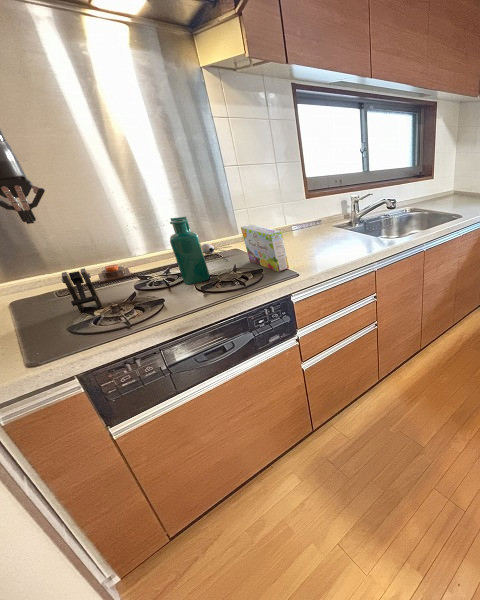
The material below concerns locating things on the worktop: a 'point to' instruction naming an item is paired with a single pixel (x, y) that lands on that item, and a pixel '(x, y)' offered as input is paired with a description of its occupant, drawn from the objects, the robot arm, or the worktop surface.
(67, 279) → the bracket
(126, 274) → the button box
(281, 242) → the snack box
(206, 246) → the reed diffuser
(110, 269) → the button
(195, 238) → the green bottle
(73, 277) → the lever
